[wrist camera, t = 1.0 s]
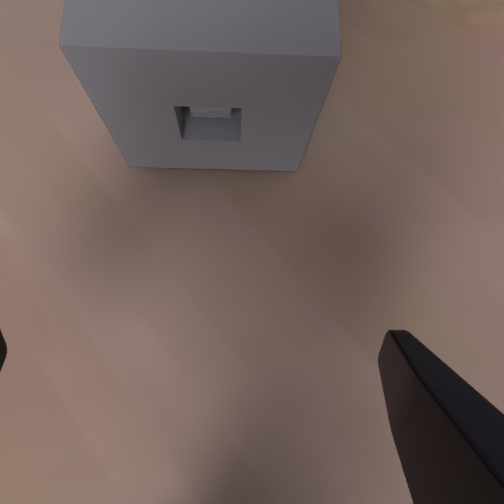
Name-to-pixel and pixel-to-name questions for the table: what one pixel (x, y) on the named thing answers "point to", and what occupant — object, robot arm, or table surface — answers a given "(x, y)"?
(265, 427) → the table surface
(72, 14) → the gray concrete brick
